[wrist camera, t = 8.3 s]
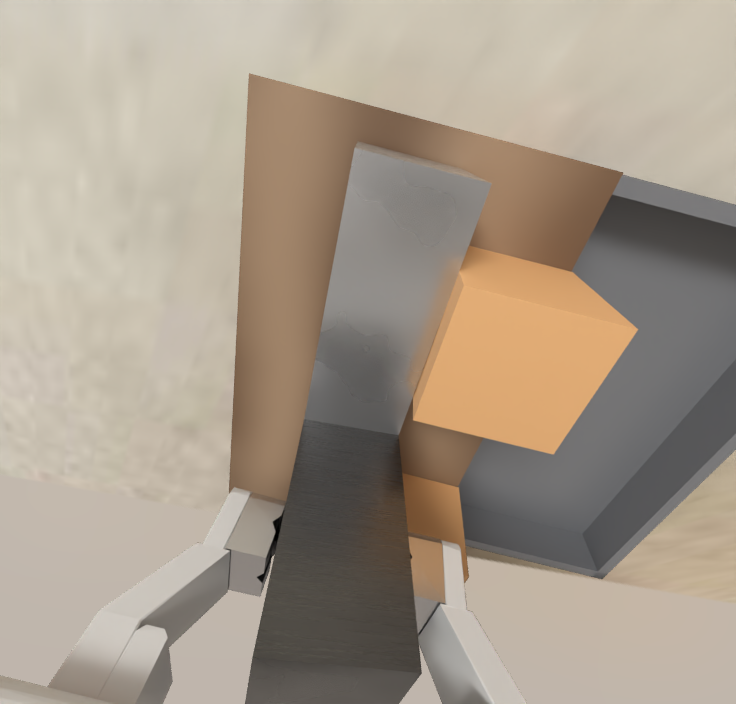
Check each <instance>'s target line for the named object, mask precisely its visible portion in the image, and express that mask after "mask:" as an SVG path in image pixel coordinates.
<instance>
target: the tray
mask: <svg viewBox="0 0 736 704" xmlns="http://www.w3.org/2000/svg"><path fill="white" fill-rule="evenodd" d="M571 272H573V273H574V274H575V275H577V276H578V277H579V278H580V279H581V280H582V281H583V282H585V283H586V284H587V285H588V286H589V287H590V288H591V289H593V290H594V291H595V292H596V293H597V294H598V295H599V296H601V297H602V298H603V299H604V300H605V301H606V302H607V303H609V304H610V305H611V306H612V307H613V308H614V309H615V310H617V311H618V312H619V313H620V314H621V315H622V316H624V317H625V318H626V319H627V320H628V321H629V322H630V323H632V324H633V325H634V326H635V327H636V328H637V329H638V331H637V332H636V334H635V335H634V336H633V338H632V339H631V341H630V342H629V344H628V345H627V347H626V348H625V350H624V351H623V353H622V354H621V356H620V357H619V359H618V360H617V362H616V363H615V365H614V366H613V367H612V369H611V370H610V372H609V373H608V375H607V376H606V378H605V379H604V381H603V382H602V384H601V385H600V387H599V388H598V390H597V391H596V393H595V394H594V395H593V397H592V398H591V400H590V401H589V403H588V404H587V406H586V407H585V409H584V410H583V412H582V413H581V415H580V416H579V418H578V419H577V421H576V422H575V423H574V425H573V426H572V428H571V429H570V431H569V432H568V434H567V435H566V437H565V438H564V440H563V441H562V443H561V444H560V446H559V447H558V449H557V450H556V452H555V453H554V454H549V453H545V452H541V451H537V450H533V449H529V448H524V447H520V446H516V445H512V444H508V443H504V442H500V441H496V440H492V439H488V438H483V440H482V442H481V444H480V446H479V447H478V449H477V451H476V453H475V455H474V457H473V459H472V461H471V463H470V465H469V466H468V468H467V470H466V472H465V474H464V476H463V478H462V480H461V482H460V483H459V485H458V487H459V493H460V502H461V511H462V520H463V529H464V538H465V546H469V547H473V548H477V549H481V550H485V551H489V552H493V553H497V554H501V555H505V556H509V557H514V558H518V559H522V560H526V561H530V562H534V563H538V564H542V565H546V566H550V567H554V568H558V569H562V570H566V571H570V572H575V573H579V574H583V575H587V576H591V577H595V578H599V579H603V578H604V577H605V576H606V575H607V574H608V573H609V572H610V571H611V570H612V569H613V568H614V567H615V566H616V565H617V564H618V563H619V562H620V561H621V560H622V559H623V558H624V557H625V556H627V555H628V554H629V553H630V552H631V551H632V550H633V549H634V548H635V547H636V546H637V545H638V544H639V543H640V542H641V541H642V540H643V539H644V538H645V537H646V536H647V535H648V534H649V533H650V532H651V531H652V530H653V529H654V528H655V527H656V526H657V525H658V524H660V523H661V522H662V521H663V520H664V519H665V518H666V517H667V516H668V515H669V514H670V513H671V512H672V511H673V510H674V509H675V508H676V507H677V506H678V505H679V504H680V503H681V502H682V501H683V500H684V499H685V498H686V497H687V496H688V495H689V494H690V493H691V492H693V491H694V490H695V489H696V488H697V487H698V486H699V485H700V484H701V483H702V482H703V481H704V480H705V479H706V478H707V477H708V476H709V475H710V474H711V473H712V472H713V471H714V470H715V469H716V468H717V467H718V466H719V465H720V464H721V463H722V462H723V461H724V460H726V459H727V458H728V457H729V456H730V455H731V454H732V453H733V452H734V451H735V450H736V205H735V204H731V203H727V202H723V201H720V200H716V199H712V198H708V197H704V196H701V195H697V194H693V193H689V192H686V191H682V190H678V189H674V188H671V187H667V186H663V185H659V184H655V183H652V182H648V181H644V180H640V179H637V178H633V177H629V176H625V175H622V177H621V178H620V180H619V182H618V184H617V186H616V188H615V190H614V192H613V194H612V196H611V197H610V199H609V201H608V203H607V205H606V207H605V209H604V211H603V213H602V214H601V216H600V218H599V220H598V222H597V224H596V226H595V228H594V230H593V232H592V233H591V235H590V237H589V239H588V241H587V243H586V245H585V247H584V249H583V250H582V252H581V254H580V256H579V258H578V260H577V262H576V264H575V266H574V267H573V269H572V271H571Z"/></svg>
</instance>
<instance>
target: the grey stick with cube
mask: <svg viewBox="0 0 736 704" xmlns="http://www.w3.org/2000/svg"><path fill="white" fill-rule="evenodd" d="M491 184H492V183H490V182H488V181H486V180H484V179H482V178H480V177H478V176H476V175H474V174H472V173H470V172H468V171H466V170H464V169H461V168H457V167H453V166H450V165H446V164H442V163H438V162H434V161H431V160H427V159H423V158H419V157H415V156H412V155H408V154H404V153H400V152H396V151H393V150H389V149H385V148H381V147H377V146H374V145H370V144H366V143H362V142H357V144H356V146H355V148H354V154H353V159H352V164H351V170H350V175H349V180H348V186H347V191H346V197H345V202H344V207H343V213H342V218H341V223H340V229H339V234H338V240H337V245H336V250H335V256H334V261H333V266H332V272H331V277H330V283H329V288H328V293H327V299H326V304H325V309H324V315H323V320H322V326H321V331H320V336H319V342H318V347H317V352H316V358H315V363H314V369H313V374H312V379H311V385H310V390H309V395H308V401H307V406H306V412H305V417H304V422H303V426H302V431H301V436H300V440H299V445H298V450H297V454H296V459H295V463H294V468H293V473H292V477H291V482H290V487H289V491H288V496H287V500H286V505H285V510H284V514H283V519H282V524H281V528H280V533H279V538H278V542H277V547H276V551H275V556H274V561H273V566H272V570H271V575H270V579H269V584H268V588H267V593H266V598H265V602H264V607H263V612H262V616H261V621H260V626H259V630H258V635H257V639H256V644H255V649H254V653H253V659H252V664H251V670H250V676H249V683H248V689H247V695H246V701H245V704H399V703H400V701H401V700H402V699H403V697H404V696H405V695H406V693H407V692H408V691H409V689H410V688H411V687H412V685H413V684H414V683H415V681H416V680H417V679H418V677H419V676H420V675H421V673H422V672H421V662H420V653H419V652H420V651H419V641H418V631H417V620H416V610H415V600H414V589H413V579H412V569H411V558H410V548H409V538H408V527H407V517H406V507H405V496H404V486H403V476H402V465H401V455H400V445H399V433H400V430H401V428H402V425H403V422H404V419H405V417H406V414H407V411H408V409H409V406H410V403H411V400H412V398H413V395H414V392H415V390H416V387H417V384H418V382H419V379H420V376H421V373H422V371H423V368H424V365H425V363H426V360H427V357H428V355H429V352H430V349H431V346H432V344H433V341H434V338H435V336H436V333H437V330H438V328H439V325H440V322H441V319H442V317H443V314H444V311H445V309H446V306H447V303H448V301H449V298H450V295H451V292H452V290H453V287H454V284H455V282H456V279H457V276H458V273H459V271H460V268H461V265H462V263H463V260H464V257H465V255H466V252H467V249H468V247H469V244H470V241H471V238H472V236H473V233H474V230H475V228H476V225H477V222H478V220H479V217H480V214H481V211H482V209H483V206H484V203H485V201H486V198H487V195H488V193H489V190H490V187H491Z"/></svg>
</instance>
